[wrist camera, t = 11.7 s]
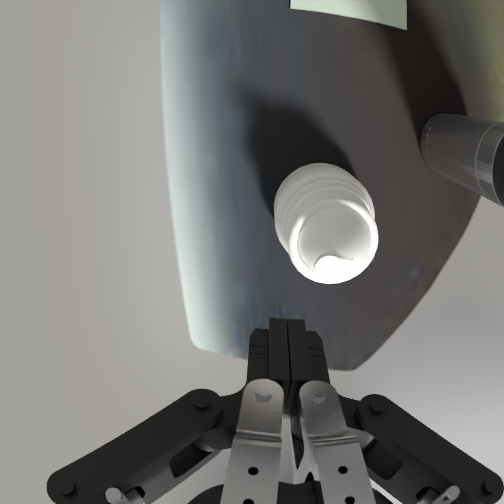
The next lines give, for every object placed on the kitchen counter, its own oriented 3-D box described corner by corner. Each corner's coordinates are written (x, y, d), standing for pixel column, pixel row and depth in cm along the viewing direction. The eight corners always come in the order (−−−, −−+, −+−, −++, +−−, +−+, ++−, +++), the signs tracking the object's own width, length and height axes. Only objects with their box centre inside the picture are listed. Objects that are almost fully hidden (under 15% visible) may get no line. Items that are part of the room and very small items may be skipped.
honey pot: (270, 247, 47) (271, 324, 31) (277, 158, 42) (285, 192, 25) (355, 253, 47) (394, 328, 31) (370, 168, 41) (429, 208, 25)
